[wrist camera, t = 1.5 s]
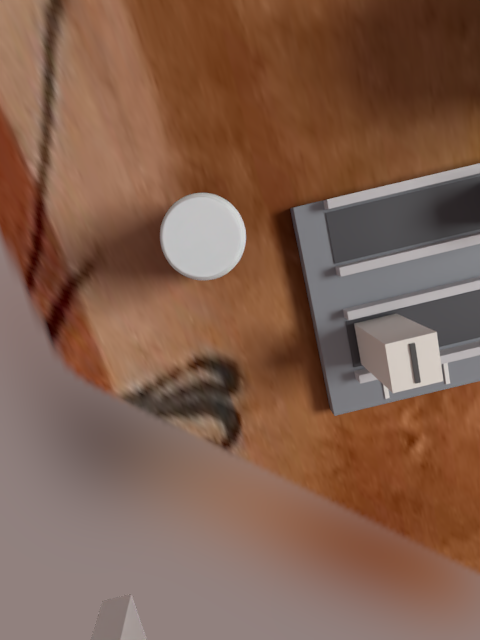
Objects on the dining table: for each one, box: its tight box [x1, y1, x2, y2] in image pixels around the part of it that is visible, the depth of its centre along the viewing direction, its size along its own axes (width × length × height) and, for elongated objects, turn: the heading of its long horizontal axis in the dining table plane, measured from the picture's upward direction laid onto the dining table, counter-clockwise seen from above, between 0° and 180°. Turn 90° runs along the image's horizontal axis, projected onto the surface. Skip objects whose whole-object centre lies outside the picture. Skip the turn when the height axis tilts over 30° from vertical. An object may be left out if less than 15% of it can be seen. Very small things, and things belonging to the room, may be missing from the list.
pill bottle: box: [160, 193, 246, 280], centre depth 25 cm, size 5×5×8 cm
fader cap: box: [354, 313, 443, 393], centre depth 27 cm, size 3×3×6 cm
